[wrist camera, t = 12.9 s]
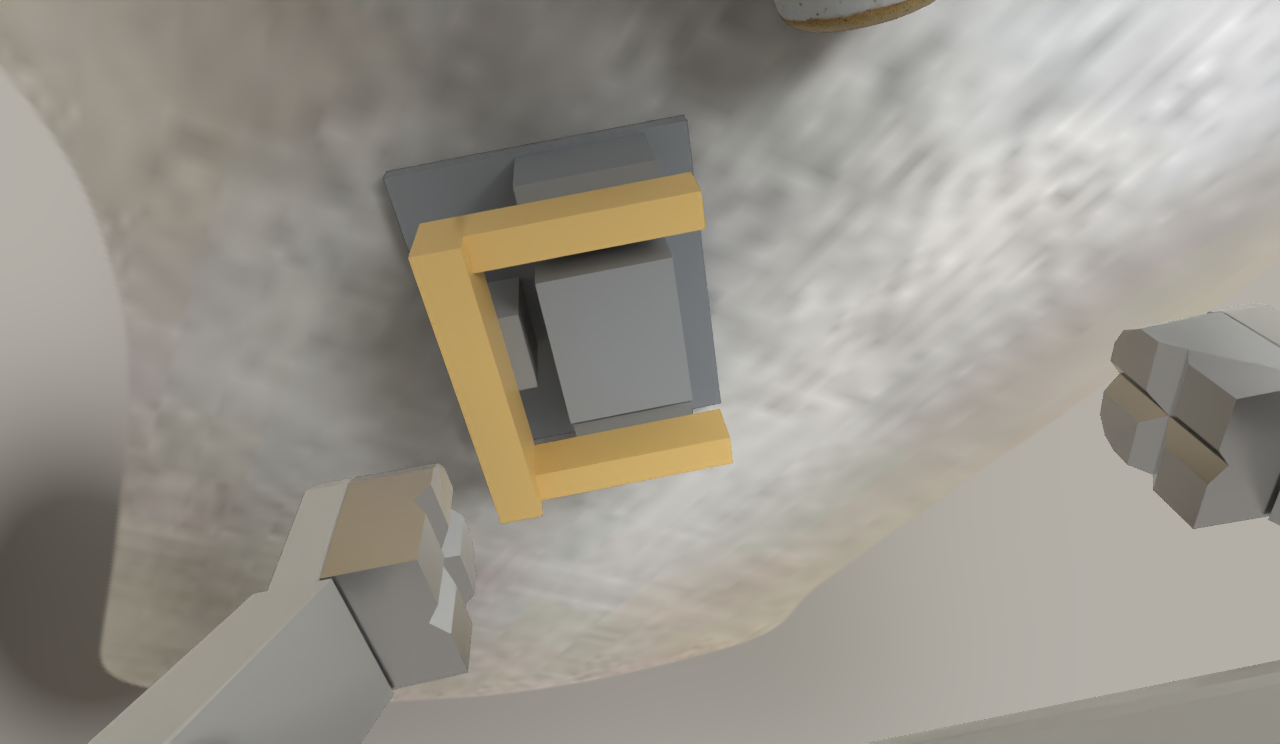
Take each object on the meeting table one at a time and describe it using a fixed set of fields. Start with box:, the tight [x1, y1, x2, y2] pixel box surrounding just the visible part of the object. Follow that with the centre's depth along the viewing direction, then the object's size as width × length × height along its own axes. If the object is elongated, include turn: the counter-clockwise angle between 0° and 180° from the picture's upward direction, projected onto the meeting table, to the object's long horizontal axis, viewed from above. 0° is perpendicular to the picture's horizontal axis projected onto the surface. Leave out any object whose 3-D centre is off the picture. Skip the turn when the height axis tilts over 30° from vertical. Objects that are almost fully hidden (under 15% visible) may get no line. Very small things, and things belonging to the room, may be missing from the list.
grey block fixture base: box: [383, 115, 721, 440], centre depth 38 cm, size 14×16×6 cm
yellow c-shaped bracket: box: [408, 172, 733, 524], centre depth 34 cm, size 12×14×4 cm
